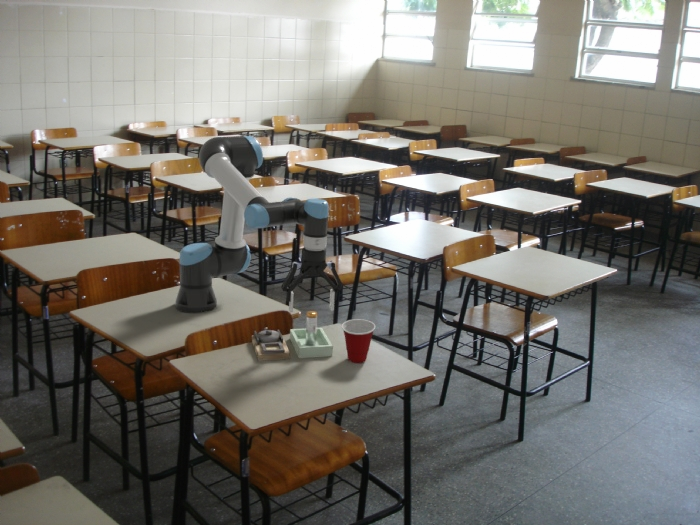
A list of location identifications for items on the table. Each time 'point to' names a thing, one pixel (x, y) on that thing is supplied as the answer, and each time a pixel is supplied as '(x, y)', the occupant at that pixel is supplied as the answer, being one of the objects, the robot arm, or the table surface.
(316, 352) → the tray
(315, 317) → the glass bottle
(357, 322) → the plastic cup
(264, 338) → the pulley block
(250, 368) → the table surface
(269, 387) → the table surface
